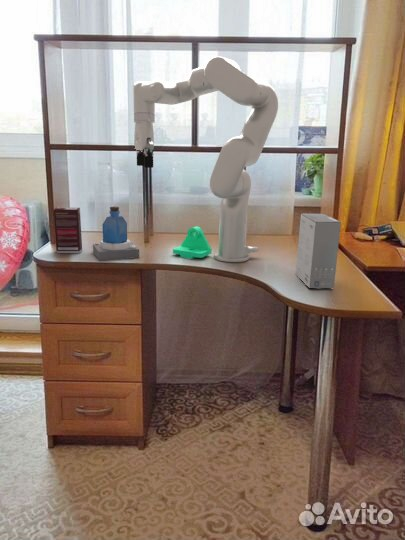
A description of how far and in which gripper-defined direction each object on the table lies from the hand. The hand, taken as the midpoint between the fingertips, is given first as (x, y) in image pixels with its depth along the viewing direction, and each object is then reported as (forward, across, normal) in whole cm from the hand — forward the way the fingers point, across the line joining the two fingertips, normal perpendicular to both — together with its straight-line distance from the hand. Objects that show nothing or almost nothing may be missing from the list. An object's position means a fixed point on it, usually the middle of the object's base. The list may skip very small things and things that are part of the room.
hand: (144, 166), depth 179 cm
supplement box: (+30, +2, -30) cm, 42 cm away
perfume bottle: (+25, +12, -15) cm, 31 cm away
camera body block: (+30, +12, -15) cm, 35 cm away
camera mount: (+30, +21, +10) cm, 39 cm away
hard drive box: (+30, +62, +34) cm, 77 cm away
